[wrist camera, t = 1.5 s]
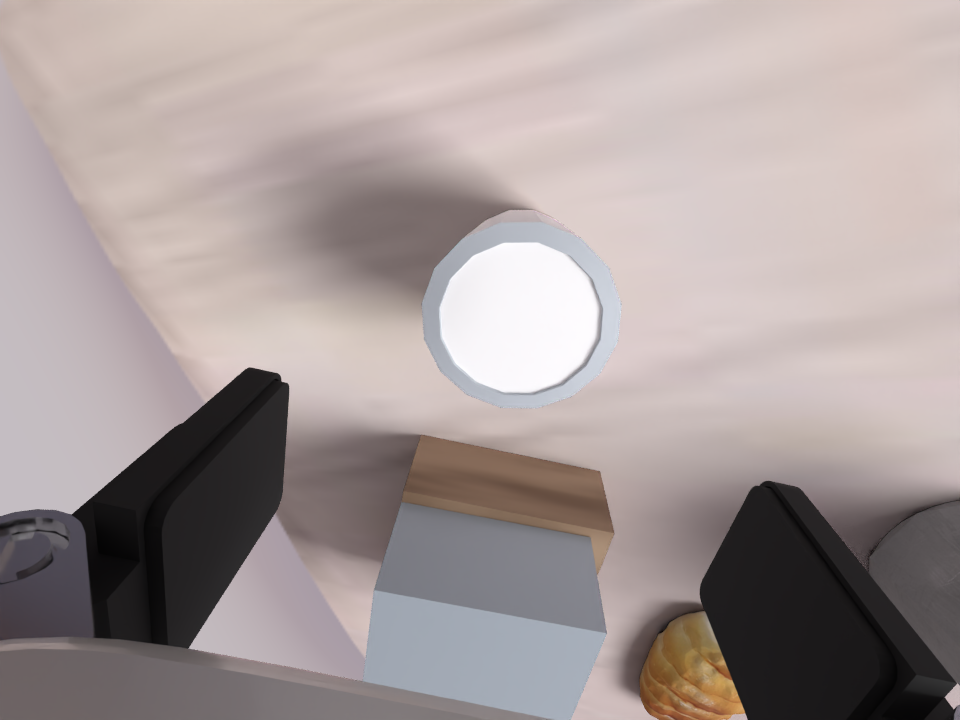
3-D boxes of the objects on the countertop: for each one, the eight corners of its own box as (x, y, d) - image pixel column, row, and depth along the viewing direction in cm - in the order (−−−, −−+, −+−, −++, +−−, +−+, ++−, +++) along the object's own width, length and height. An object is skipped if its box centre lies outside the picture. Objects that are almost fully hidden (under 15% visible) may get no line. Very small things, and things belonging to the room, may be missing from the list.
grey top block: (401, 502, 24) (374, 589, 19) (590, 537, 24) (606, 633, 20) (383, 630, 28) (356, 729, 23) (546, 660, 28) (551, 764, 23)
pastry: (696, 709, 36) (715, 771, 33) (610, 679, 36) (619, 739, 32) (778, 627, 32) (808, 687, 29) (682, 592, 32) (701, 649, 28)
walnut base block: (422, 432, 28) (403, 490, 24) (599, 468, 28) (614, 533, 24) (399, 563, 32) (379, 634, 28) (553, 593, 33) (559, 669, 28)
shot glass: (613, 210, 22) (649, 243, 16) (574, 351, 25) (591, 427, 19) (459, 180, 22) (434, 202, 16) (437, 325, 25) (409, 392, 19)
